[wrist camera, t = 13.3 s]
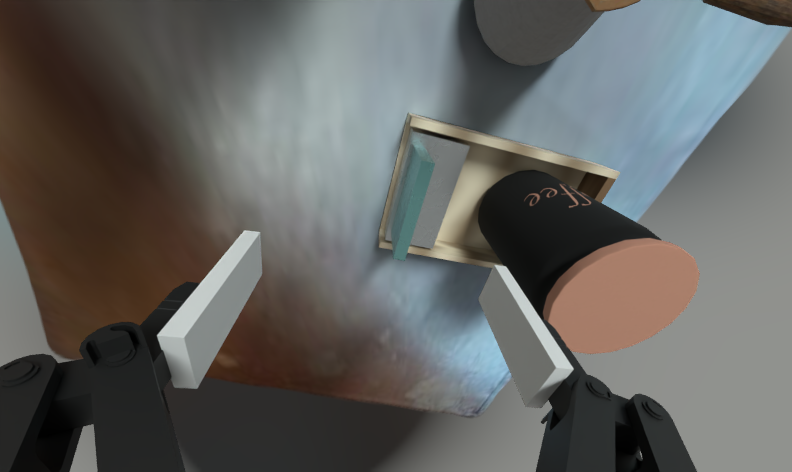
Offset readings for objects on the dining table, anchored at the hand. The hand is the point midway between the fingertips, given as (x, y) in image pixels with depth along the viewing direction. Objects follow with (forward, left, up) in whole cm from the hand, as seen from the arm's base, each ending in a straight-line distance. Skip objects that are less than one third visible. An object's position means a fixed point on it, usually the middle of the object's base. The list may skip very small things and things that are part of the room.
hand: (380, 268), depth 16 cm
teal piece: (+5, -1, -19) cm, 20 cm away
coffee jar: (+18, -1, -20) cm, 27 cm away
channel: (+14, -1, -20) cm, 24 cm away
